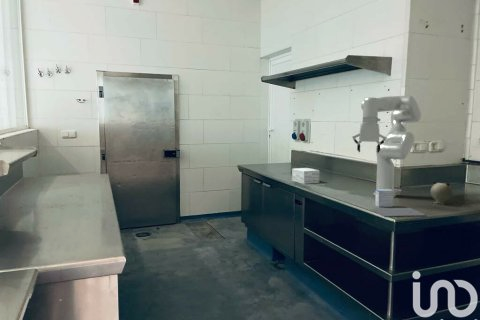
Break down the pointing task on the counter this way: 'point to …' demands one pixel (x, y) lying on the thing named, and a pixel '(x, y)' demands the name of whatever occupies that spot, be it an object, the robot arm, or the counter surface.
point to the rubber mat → (397, 212)
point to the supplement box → (305, 175)
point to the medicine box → (384, 197)
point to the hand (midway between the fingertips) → (368, 152)
